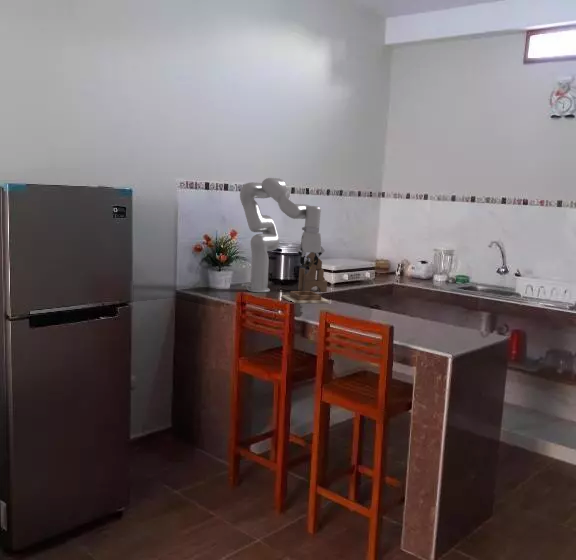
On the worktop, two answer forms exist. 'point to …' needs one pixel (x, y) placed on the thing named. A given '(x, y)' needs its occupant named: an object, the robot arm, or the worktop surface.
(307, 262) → the eagle figurine
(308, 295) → the jig
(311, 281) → the wooden toy
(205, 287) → the worktop surface
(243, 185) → the robot arm
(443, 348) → the worktop surface
